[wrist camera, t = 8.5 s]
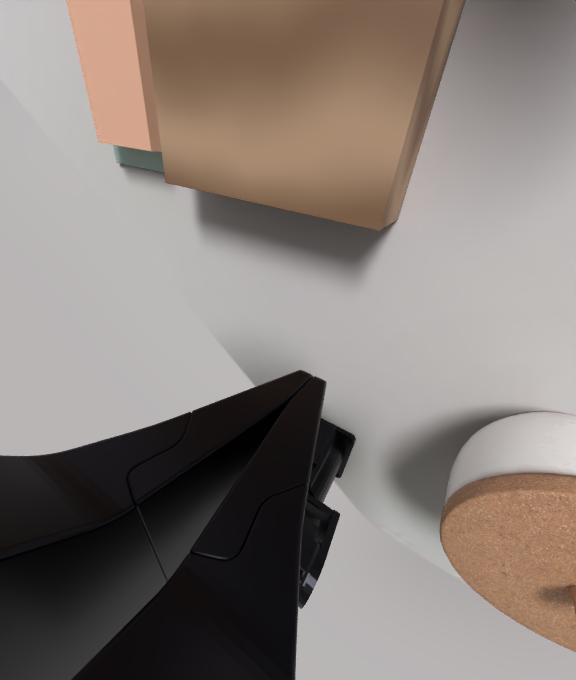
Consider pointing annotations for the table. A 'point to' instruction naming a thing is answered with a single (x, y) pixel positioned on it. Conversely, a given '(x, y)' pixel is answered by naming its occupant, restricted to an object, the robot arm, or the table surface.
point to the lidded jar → (518, 520)
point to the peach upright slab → (117, 71)
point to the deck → (298, 98)
